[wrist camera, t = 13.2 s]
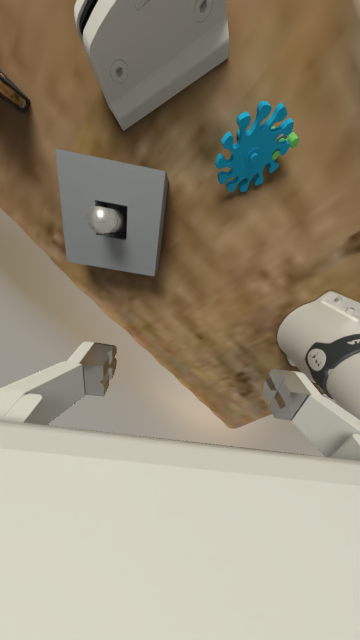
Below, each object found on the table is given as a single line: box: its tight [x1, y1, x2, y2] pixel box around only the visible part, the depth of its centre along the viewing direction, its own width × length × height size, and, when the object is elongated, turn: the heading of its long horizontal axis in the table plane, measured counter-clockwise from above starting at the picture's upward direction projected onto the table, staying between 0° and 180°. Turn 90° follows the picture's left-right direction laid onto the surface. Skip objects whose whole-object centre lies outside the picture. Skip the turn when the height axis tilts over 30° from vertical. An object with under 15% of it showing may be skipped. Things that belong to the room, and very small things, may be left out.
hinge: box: [74, 0, 229, 131], centre depth 21 cm, size 17×5×10 cm, turn 116°
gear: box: [215, 101, 299, 192], centre depth 26 cm, size 11×6×10 cm
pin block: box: [55, 149, 169, 276], centre depth 30 cm, size 14×14×6 cm
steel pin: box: [86, 206, 127, 234], centre depth 27 cm, size 3×3×10 cm
